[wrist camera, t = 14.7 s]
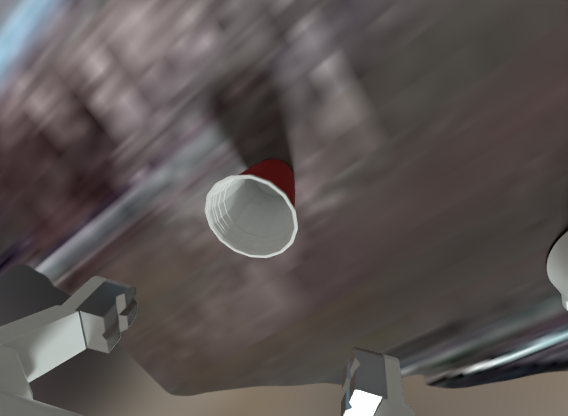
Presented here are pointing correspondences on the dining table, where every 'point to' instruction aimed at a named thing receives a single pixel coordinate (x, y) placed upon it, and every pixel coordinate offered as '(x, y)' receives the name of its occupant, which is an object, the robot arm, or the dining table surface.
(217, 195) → the plastic cup
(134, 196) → the dining table surface
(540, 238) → the dining table surface
